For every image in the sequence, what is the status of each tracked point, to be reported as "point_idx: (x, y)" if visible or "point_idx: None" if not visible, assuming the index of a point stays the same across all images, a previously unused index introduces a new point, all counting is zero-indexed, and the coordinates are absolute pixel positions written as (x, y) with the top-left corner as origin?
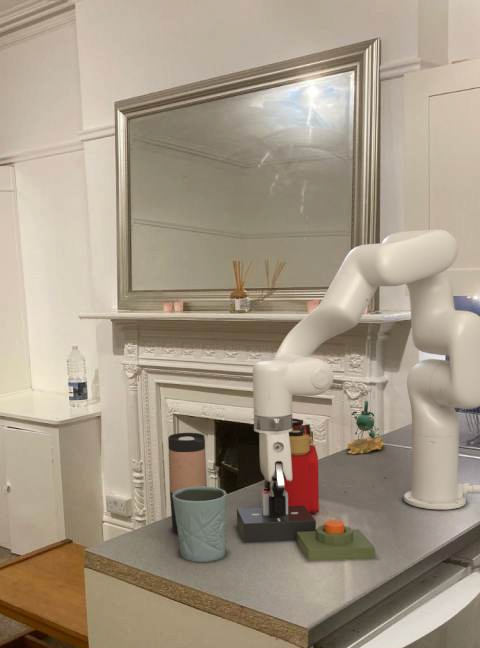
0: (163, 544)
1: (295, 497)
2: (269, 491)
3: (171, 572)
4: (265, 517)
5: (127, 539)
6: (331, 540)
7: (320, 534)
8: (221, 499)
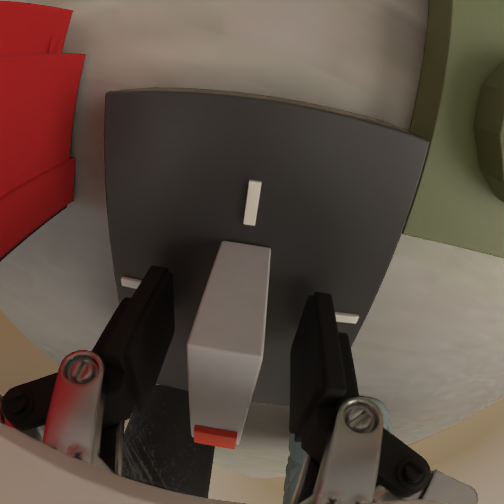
0: (257, 445)
1: (13, 129)
2: (143, 389)
3: None
4: (275, 347)
5: (217, 459)
6: None
7: None
8: None
